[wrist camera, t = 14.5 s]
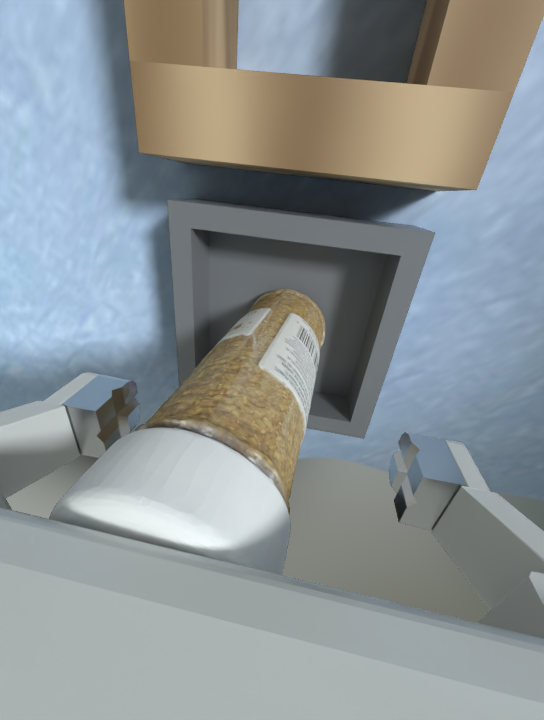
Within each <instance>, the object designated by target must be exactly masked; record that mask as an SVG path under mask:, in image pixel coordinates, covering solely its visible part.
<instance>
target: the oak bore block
mask: <svg viewBox="0 0 544 720" xmlns="http://www.w3.org/2000/svg"><path fill="white" fill-rule="evenodd" d="M238 1H239V0H124V9H125V19H126V29H127V39H128V49H129V59H130V68H131V78H132V88H133V98H134V108H135V118H136V128H137V138H138V148H139V153H143V154H147V155H151V156H156V157H160V158H164V159H169V160H173V161H177V162H182V163H189V164H198V165H207V166H216V167H225V168H234V169H243V170H252V171H260V172H269V173H278V174H287V175H296V176H305V177H314V178H323V179H332V180H341V181H350V182H359V183H368V184H377V185H386V186H395V187H404V188H413V189H422V190H431V191H458V190H477V188H478V185H479V182H480V180H481V177H482V175H483V172H484V169H485V167H486V164H487V162H488V159H489V156H490V154H491V151H492V149H493V146H494V143H495V141H496V138H497V136H498V133H499V130H500V128H501V125H502V123H503V120H504V117H505V115H506V112H507V110H508V107H509V104H510V102H511V99H512V97H513V94H514V91H515V89H516V86H517V84H518V81H519V78H520V76H521V73H522V71H523V68H524V65H525V63H526V60H527V58H528V55H529V52H530V50H531V47H532V45H533V42H534V39H535V37H536V34H537V32H538V29H539V26H540V24H541V21H542V19H543V16H544V0H427V1H426V5H425V10H424V14H423V18H422V22H421V26H420V30H419V34H418V38H417V42H416V46H415V50H414V54H413V59H412V63H411V67H410V71H409V75H408V79H407V83H395V82H382V81H370V80H358V79H346V78H334V77H322V76H310V75H298V74H286V73H274V72H261V71H249V70H237V69H236V66H237V33H238Z"/></svg>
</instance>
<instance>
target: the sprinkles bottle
mask: <svg viewBox="0 0 544 720" xmlns="http://www.w3.org/2000/svg"><path fill="white" fill-rule="evenodd" d="M325 330H326V327H325V320H324V317H323V314H322V313H321V311H320V309H319V307H318V306H317V304H316V303H314V302H313V301H312V300H311V299H310V298H309V297H308V296H306V295H304V294H302V293H300V292H297V291H295V290H292V289H279V290H275V291H271V292H268V293H266V294H264V295H262V296H261V297H260V298H258V300H257V301H256V302H254V304H253V305H252V306H251V308H250V310H249V312H248V313H247V314H246V315H245V316H244V317H242V318H241V319H240V320H239V321H238V322H237V323H236V324H235V325H234V326H233V327H232V328H231V330H230V331H229V332H228V333H227V334H226V335H225V336H224V337H223V338H222V339H221V340H220V341H219V342H218V344H217V345H216V346H215V347H214V348H213V349H212V350H211V351H210V352H209V353H208V354H207V355H206V357H205V358H204V359H203V360H202V361H201V362H200V364H199V365H198V366H197V367H196V369H195V370H194V371H193V373H192V375H191V376H190V377H189V378H188V379H186V380H185V381H184V383H183V384H182V385H181V386H180V387H179V388H178V389H177V390H176V391H175V393H174V394H173V395H172V396H171V397H169V399H168V400H167V401H166V402H165V403H164V404H163V405H162V406H161V407H160V408H159V410H158V411H157V412H156V413H155V415H154V416H153V417H152V418H150V419H149V420H148V422H147V423H146V424H142V425H140V426H139V427H137V428H136V429H135V430H134V431H133V432H132V433H129V434H127V435H125V436H123V437H122V438H120V439H119V440H117V441H116V442H115V443H114V444H113V445H112V446H111V447H110V448H109V449H108V450H107V451H106V452H105V453H104V454H103V455H102V456H101V457H100V458H99V459H98V460H97V461H96V462H95V463H94V464H93V465H92V466H91V467H90V468H89V469H88V470H87V471H86V473H85V474H84V475H83V476H82V477H81V478H80V479H79V480H78V481H77V482H76V483H75V484H74V485H73V486H72V487H71V488H70V490H69V491H68V492H67V493H66V494H65V495H64V496H63V497H62V498H61V500H60V501H59V502H58V503H57V504H56V505H55V507H54V509H53V511H52V512H51V515H50V518H49V519H50V520H55V521H59V522H63V523H67V524H71V525H75V526H79V527H83V528H88V529H92V530H96V531H100V532H104V533H108V534H112V535H117V536H121V537H125V538H129V539H133V540H137V541H141V542H146V543H150V544H154V545H158V546H162V547H166V548H171V549H175V550H179V551H183V552H187V553H191V554H196V555H200V556H204V557H208V558H212V559H216V560H221V561H225V562H229V563H233V564H237V565H241V566H245V567H250V568H254V569H258V570H262V571H266V572H270V573H274V574H279V575H282V573H283V568H284V564H285V558H286V553H287V548H288V543H289V536H290V528H291V524H290V518H289V513H290V507H289V503H288V499H289V497H290V494H291V488H292V482H293V476H294V471H295V468H296V463H297V458H298V454H299V451H300V446H301V443H302V441H303V438H304V436H305V432H306V427H307V421H308V415H309V410H310V405H311V400H312V395H313V389H314V384H315V379H316V374H317V369H318V364H319V357H320V349H321V347H322V345H323V342H324V339H325Z"/></svg>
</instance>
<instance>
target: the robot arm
mask: <svg viewBox="0 0 544 720" xmlns="http://www.w3.org/2000/svg"><path fill="white" fill-rule="evenodd" d="M136 394H137V387H136V383H134V382H133V381H130V380H126V379H121V378H116V377H112V376H107V375H101V374H96V373H92V372H85V373H82V374H80V375H79V376H78V377H76V378H75V379H73V380H72V381H71V382H69V383H68V384H66V385H65V386H64V387H62V388H61V389H59V390H58V391H57V392H55V393H54V394H52V395H51V396H50V397H48V398H47V399H45V400H44V401H34V402H31V403H28V404H25V405H21V406H18V407H15V408H11V409H8V410H5V411H1V412H0V720H544V531H543V530H541V529H540V528H539V527H538V526H536V525H535V524H534V523H533V522H531V521H530V520H529V519H528V518H527V517H525V516H524V515H523V514H522V513H521V512H519V511H518V510H517V509H516V508H514V507H513V506H512V505H511V504H509V503H508V502H507V501H506V500H505V499H504V498H502V497H501V496H500V495H499V494H497V493H495V492H490V490H489V488H488V486H487V484H486V483H485V481H484V479H483V477H482V475H481V473H480V472H479V470H478V468H477V466H476V464H475V463H474V461H473V459H472V457H471V455H470V453H469V452H468V450H467V448H466V446H465V445H464V444H463V443H462V442H459V441H453V440H447V439H438V438H433V437H427V436H422V435H416V434H411V433H406V432H405V433H404V434H403V435H402V436H401V438H400V440H399V442H398V443H399V446H400V450H399V451H397V452H395V453H394V454H393V456H392V459H391V462H390V468H389V478H390V484H391V487H392V488H393V489H394V490H395V491H396V493H397V495H396V497H395V499H394V503H395V507H396V512H397V517H398V521H399V523H403V524H407V525H410V526H414V527H419V528H422V529H427V530H431V531H432V533H433V535H434V536H435V538H436V539H437V540H438V542H439V543H440V544H441V546H442V547H443V548H444V550H445V551H446V552H447V554H448V555H449V557H450V558H451V559H452V561H453V562H454V563H455V565H456V566H457V567H458V569H459V570H460V571H461V573H462V574H463V575H464V577H465V578H466V579H467V581H468V582H469V583H470V585H471V586H472V587H473V589H474V590H475V591H476V593H477V594H478V595H479V597H480V598H481V599H482V601H483V602H484V604H485V605H486V606H487V608H488V609H489V610H490V611H489V612H488V613H487V614H486V615H485V616H484V617H483V618H482V619H481V620H480V621H479V622H478V623H477V622H473V621H469V620H464V619H461V618H457V617H452V616H448V615H444V614H440V613H436V612H432V611H427V610H423V609H419V608H415V607H411V606H407V605H403V604H399V603H394V602H390V601H386V600H382V599H378V598H373V597H370V596H365V595H361V594H357V593H353V592H349V591H345V590H340V589H336V588H332V587H328V586H324V585H320V584H316V583H311V582H307V581H303V580H299V579H295V578H291V577H287V576H283V575H279V574H274V573H270V572H266V571H262V570H258V569H254V568H250V567H245V566H241V565H237V564H233V563H229V562H225V561H221V560H216V559H212V558H208V557H204V556H200V555H196V554H191V553H187V552H183V551H179V550H175V549H171V548H166V547H162V546H158V545H154V544H150V543H146V542H141V541H137V540H133V539H129V538H125V537H121V536H117V535H112V534H108V533H104V532H100V531H96V530H92V529H88V528H83V527H79V526H75V525H71V524H67V523H63V522H59V521H55V520H50V519H46V518H42V517H38V516H34V515H30V514H26V513H21V512H17V511H13V510H12V509H11V507H10V505H9V504H8V502H7V500H6V498H7V497H9V496H11V495H12V494H14V493H16V492H18V491H19V490H21V489H23V488H25V487H26V486H28V485H30V484H32V483H34V482H35V481H37V480H39V479H41V478H42V477H44V476H46V475H48V474H49V473H51V472H53V471H55V470H57V469H58V468H60V467H62V466H64V465H65V464H67V463H69V462H71V461H72V460H74V459H76V458H78V457H80V455H85V456H91V457H96V458H100V457H101V456H102V455H103V454H104V453H105V452H106V451H107V450H108V449H109V448H110V447H111V446H112V445H113V444H114V443H115V442H116V441H117V440H119V439H120V438H121V437H122V436H124V435H126V434H129V433H131V431H132V430H133V429H134V428H135V426H136V424H137V422H138V419H139V417H140V405H139V403H138V401H137V400H136V399H135V398H134V396H135V395H136Z"/></svg>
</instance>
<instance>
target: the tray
mask: <svg viewBox="0 0 544 720" xmlns="http://www.w3.org/2000/svg"><path fill="white" fill-rule="evenodd" d="M167 205H168V220H169V235H170V250H171V266H172V281H173V296H174V312H175V327H176V342H177V358H178V373H179V387H180V386H181V385H182V384H183V383H184V381H185V380H186V379H188V378H189V377H190V376H191V375H192V373H193V371H194V370H195V369H196V367H197V366H198V365H199V364H200V362H201V361H202V360H203V359H204V358H205V357H206V355H207V354H208V353H209V352H210V351H211V350H212V349H213V348H214V347H215V346H216V345H217V344H218V342H219V341H220V340H221V339H222V338H223V337H224V336H225V335H226V334H227V333H228V332H229V331H230V330H231V328H232V327H233V326H234V325H235V324H236V323H237V322H238V321H239V320H240V319H241V318H242V317H244V316H245V315H246V314H247V313H248V312H249V310H250V308H251V306H252V305H253V304H254V302H256V301H257V300H258V298H260V297H261V296H262V295H264V294H266V293H268V292H271V291H275V290H279V289H292V290H295V291H297V292H300V293H302V294H304V295H306V296H308V297H309V298H310V299H311V300H312V301H313V302H314V303H316V304H317V306H318V307H319V309H320V311H321V313H322V314H323V317H324V320H325V327H326V330H325V339H324V342H323V345H322V347H321V349H320V357H319V364H318V369H317V374H316V379H315V384H314V389H313V395H312V400H311V405H310V410H309V415H308V421H307V427H306V428H309V429H314V430H320V431H325V432H331V433H336V434H342V435H347V436H352V437H358V438H363V439H364V437H365V434H366V431H367V428H368V425H369V423H370V420H371V417H372V414H373V411H374V408H375V405H376V402H377V399H378V397H379V394H380V391H381V388H382V385H383V382H384V379H385V376H386V373H387V371H388V368H389V365H390V362H391V359H392V356H393V353H394V350H395V347H396V344H397V342H398V339H399V336H400V333H401V330H402V327H403V324H404V321H405V318H406V316H407V313H408V310H409V307H410V304H411V301H412V298H413V295H414V292H415V290H416V287H417V284H418V281H419V278H420V275H421V272H422V269H423V266H424V264H425V261H426V258H427V255H428V252H429V249H430V246H431V243H432V240H433V238H434V235H435V232H432V231H429V230H426V229H423V228H420V227H417V226H412V225H403V224H395V223H387V222H379V221H371V220H362V219H354V218H346V217H338V216H330V215H321V214H313V213H305V212H297V211H289V210H280V209H272V208H264V207H256V206H248V205H239V204H231V203H223V202H215V201H207V200H198V199H175V200H167Z"/></svg>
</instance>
